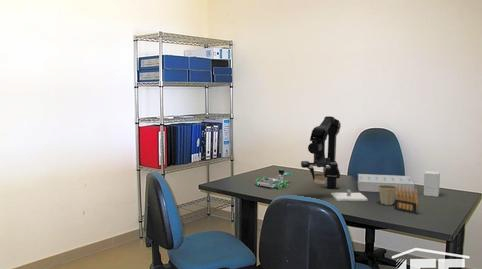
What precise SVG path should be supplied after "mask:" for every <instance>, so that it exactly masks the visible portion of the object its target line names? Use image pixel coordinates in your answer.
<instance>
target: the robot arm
mask: <svg viewBox="0 0 482 269" xmlns="http://www.w3.org/2000/svg"><path fill="white" fill-rule="evenodd" d="M341 127H342V126H341V122H340V120H338V119H336V118H335V117H334V116H330V115H329V116H324V119H323V120H322V122H321V123H320V124H319V125H317V126H314V128H313V129H312V130H311V134H310V138H309V142H311V143H309V144H308V146H307V150H308V152H309V153H310V154H313V162H310V161H309V160H302V161H301V162H300V167H301V168H303V169H305V168H306V169H308V170H309V172H310V175H311V177H312V181H313V180H314V174H315V167H316V168H322V169H323V170H322V174H323V175H324V176H325V178H326V184H325V185H324V187H325V188H326V189H329V190H330V189H332V190H333V189H339V187H338V186H337V184H338V179H340V178H341V172H340V169H339V165H338V162H337V161H336V158H337V156H336V152H337V150H336V149H337V136H338V135H339V133H340V129H341ZM327 138H328V139H327ZM326 140H327V156H326V154H325V153H326V151H325V150H326V149H325V147H326V145H325V144H326Z"/></svg>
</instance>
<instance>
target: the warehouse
mask: <svg viewBox="0 0 482 269" xmlns="http://www.w3.org/2000/svg"><path fill="white" fill-rule="evenodd" d="M379 185H392V186H396V187H397V185H398V186H399V194H400V187H401V186H402V189H403V192H404V187H406V194H407V189H408V187H409V188H410V195H411V189H412V187H413V191H414V194H415V189H416V184H415V181H414V180H413V178H412V176H411V175H398V174H397V175H395V174H394V175H393V174H392V175H391V174H368V173H357V188H358V192H371V193H372V192H373V193H374V192H375V193H379V188H378V186H379ZM395 194H396V192H395Z"/></svg>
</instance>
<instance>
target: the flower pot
mask: <svg viewBox="0 0 482 269" xmlns="http://www.w3.org/2000/svg"><path fill="white" fill-rule="evenodd" d="M378 188H379V192H378V193H379V200H380V204H381V205H386V206H392V205H395V198H396V193H395V192H396V188H397V187H396V186H392V185H379V186H378Z"/></svg>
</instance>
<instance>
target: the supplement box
mask: <svg viewBox="0 0 482 269" xmlns="http://www.w3.org/2000/svg"><path fill="white" fill-rule="evenodd" d="M423 174H424V176H423V177H424V178H423V196H427V197H439V196H440V182H441V181H440V180H441V179H440V178H441V171H432V170H431V171H430V170H425V172H424V173H423Z"/></svg>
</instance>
